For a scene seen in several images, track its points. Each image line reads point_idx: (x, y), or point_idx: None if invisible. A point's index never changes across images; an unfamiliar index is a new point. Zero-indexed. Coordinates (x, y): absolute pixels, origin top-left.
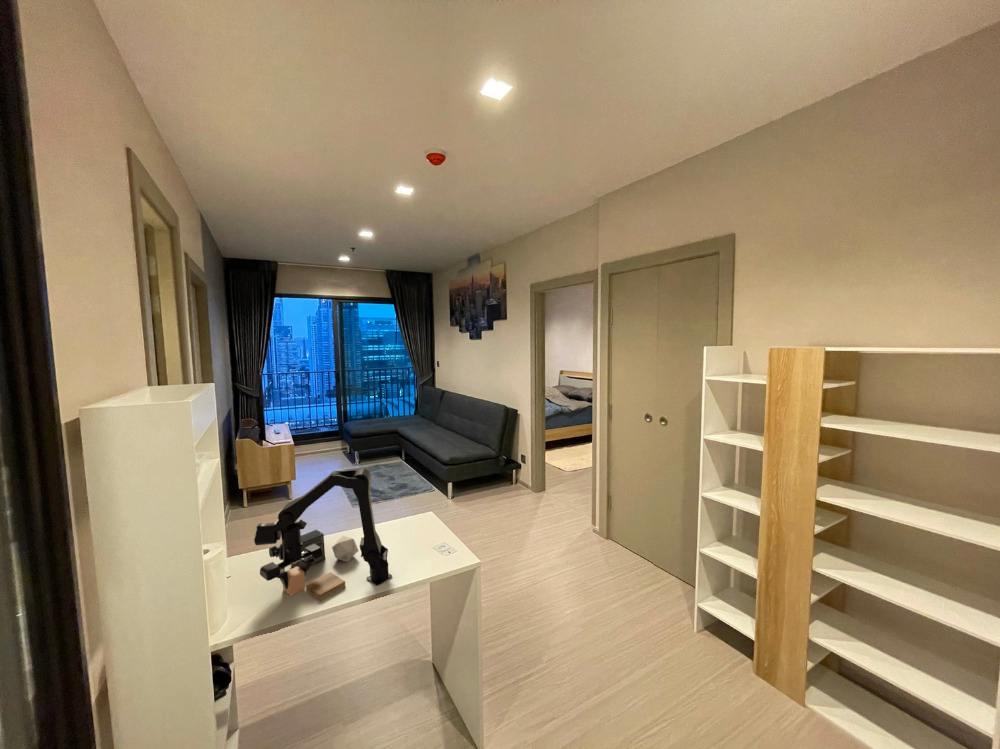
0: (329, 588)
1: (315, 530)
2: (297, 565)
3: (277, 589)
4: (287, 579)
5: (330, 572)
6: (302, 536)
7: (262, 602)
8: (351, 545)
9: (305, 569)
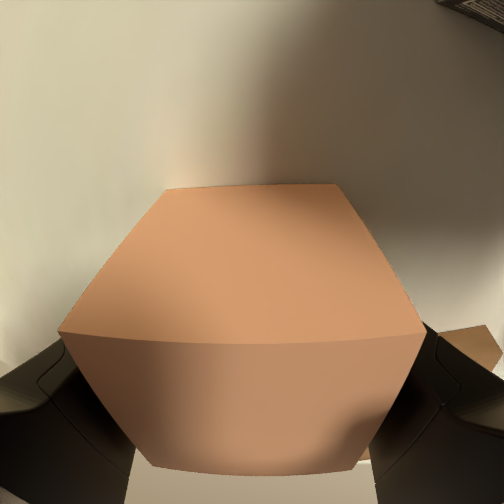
0: (360, 457)
1: None
2: None
3: (125, 134)
4: (132, 449)
5: (498, 357)
6: None
7: (17, 233)
8: None
9: (375, 475)
